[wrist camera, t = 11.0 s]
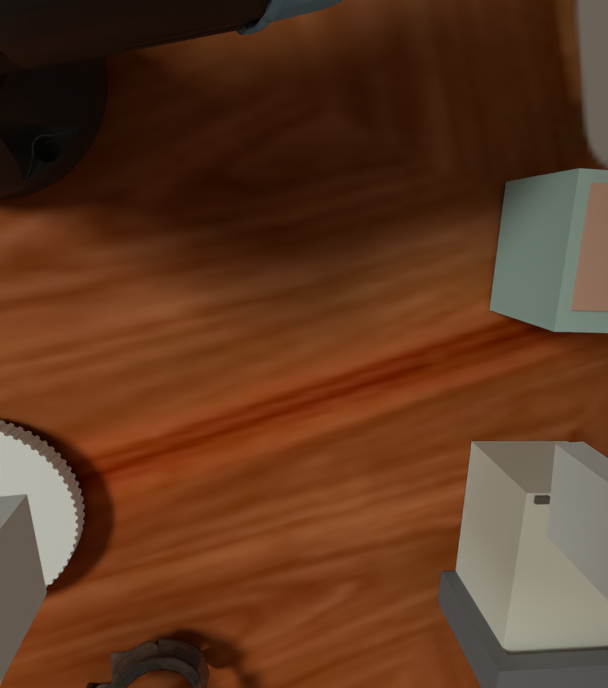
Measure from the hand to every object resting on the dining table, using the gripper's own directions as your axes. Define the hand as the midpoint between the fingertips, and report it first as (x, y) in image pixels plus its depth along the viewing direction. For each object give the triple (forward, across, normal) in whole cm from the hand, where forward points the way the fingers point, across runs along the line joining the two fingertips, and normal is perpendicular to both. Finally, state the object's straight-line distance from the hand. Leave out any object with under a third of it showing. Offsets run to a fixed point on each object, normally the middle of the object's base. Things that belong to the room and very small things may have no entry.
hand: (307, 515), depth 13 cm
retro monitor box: (+24, +21, +4) cm, 32 cm away
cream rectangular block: (+23, +19, -19) cm, 35 cm away
